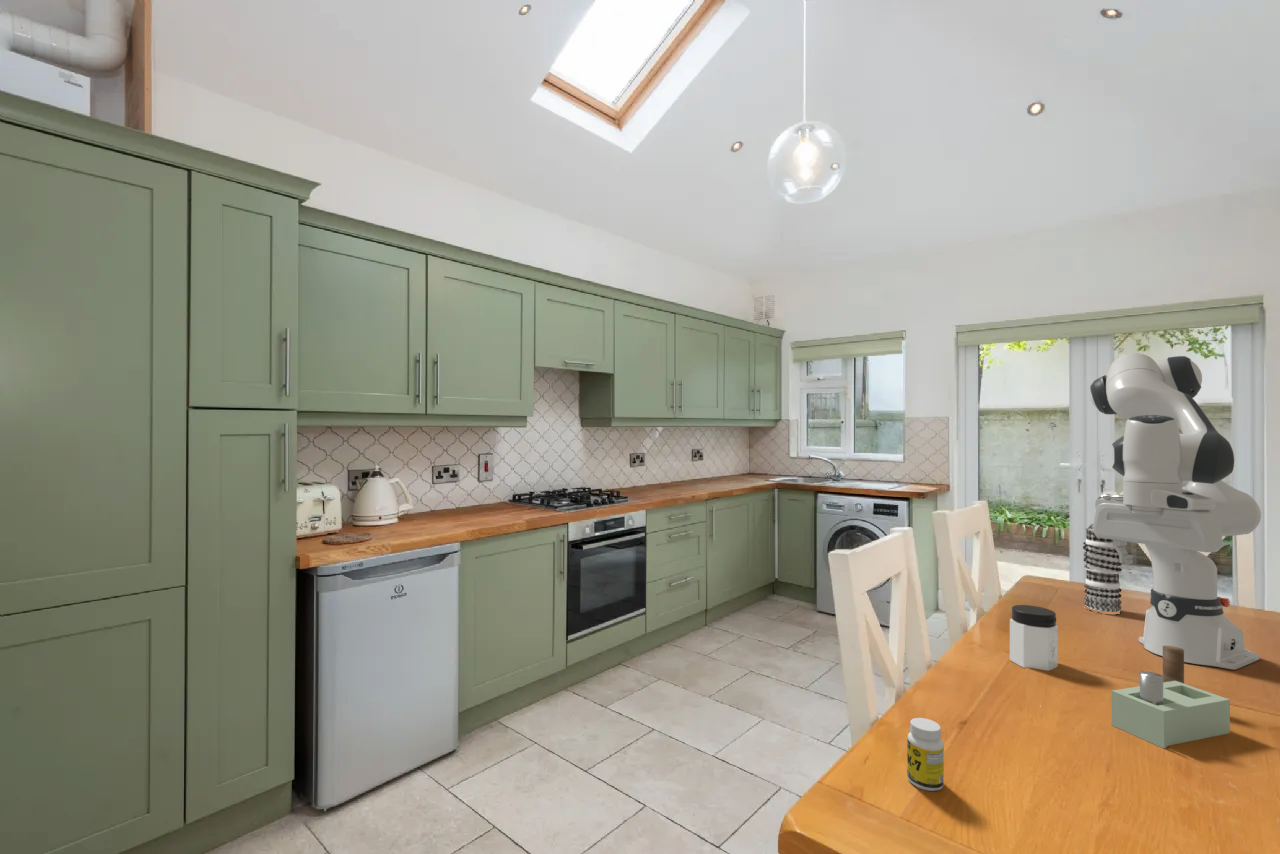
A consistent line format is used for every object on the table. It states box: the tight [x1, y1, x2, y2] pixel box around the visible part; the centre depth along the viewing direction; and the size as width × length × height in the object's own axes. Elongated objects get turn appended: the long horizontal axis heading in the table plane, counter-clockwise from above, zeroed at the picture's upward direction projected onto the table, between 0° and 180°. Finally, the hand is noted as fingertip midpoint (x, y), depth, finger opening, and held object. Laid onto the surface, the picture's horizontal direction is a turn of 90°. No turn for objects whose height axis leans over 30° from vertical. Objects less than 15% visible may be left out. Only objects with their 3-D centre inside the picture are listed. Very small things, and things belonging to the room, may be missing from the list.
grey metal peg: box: [1139, 670, 1163, 706], centre depth 100 cm, size 3×3×10 cm
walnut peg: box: [1162, 646, 1185, 684], centre depth 111 cm, size 3×3×10 cm
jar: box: [1009, 604, 1059, 672], centre depth 130 cm, size 9×8×12 cm
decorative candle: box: [1082, 523, 1123, 612], centre depth 172 cm, size 9×9×25 cm
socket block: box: [1111, 681, 1231, 749], centre depth 101 cm, size 16×8×6 cm, turn 107°
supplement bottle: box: [906, 717, 945, 792], centre depth 85 cm, size 5×5×8 cm
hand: (1153, 568), depth 115 cm, fingers open, 8 cm apart
